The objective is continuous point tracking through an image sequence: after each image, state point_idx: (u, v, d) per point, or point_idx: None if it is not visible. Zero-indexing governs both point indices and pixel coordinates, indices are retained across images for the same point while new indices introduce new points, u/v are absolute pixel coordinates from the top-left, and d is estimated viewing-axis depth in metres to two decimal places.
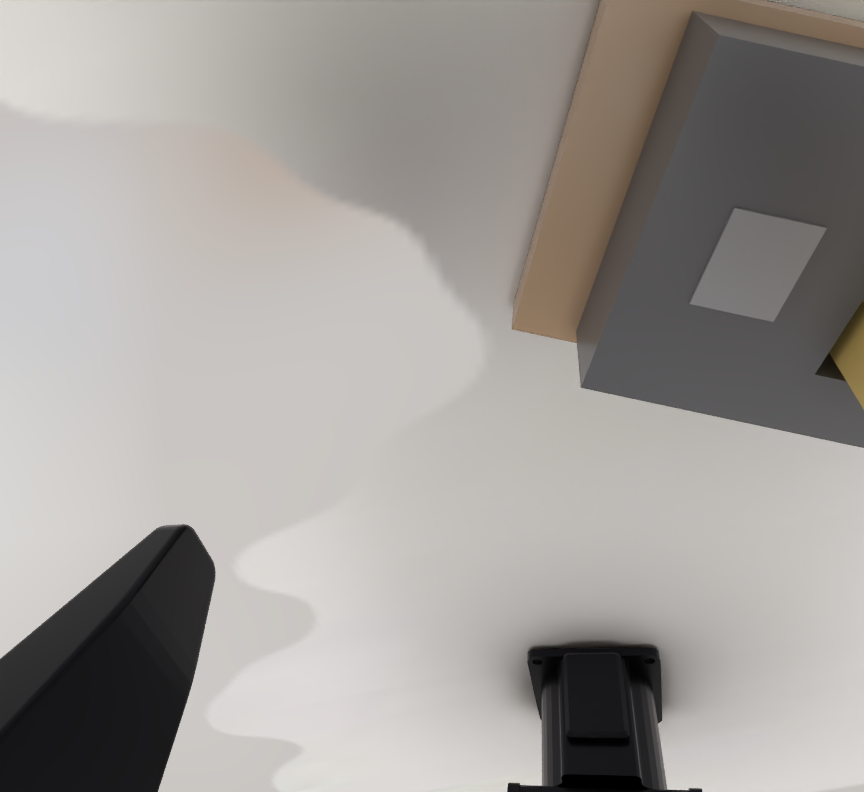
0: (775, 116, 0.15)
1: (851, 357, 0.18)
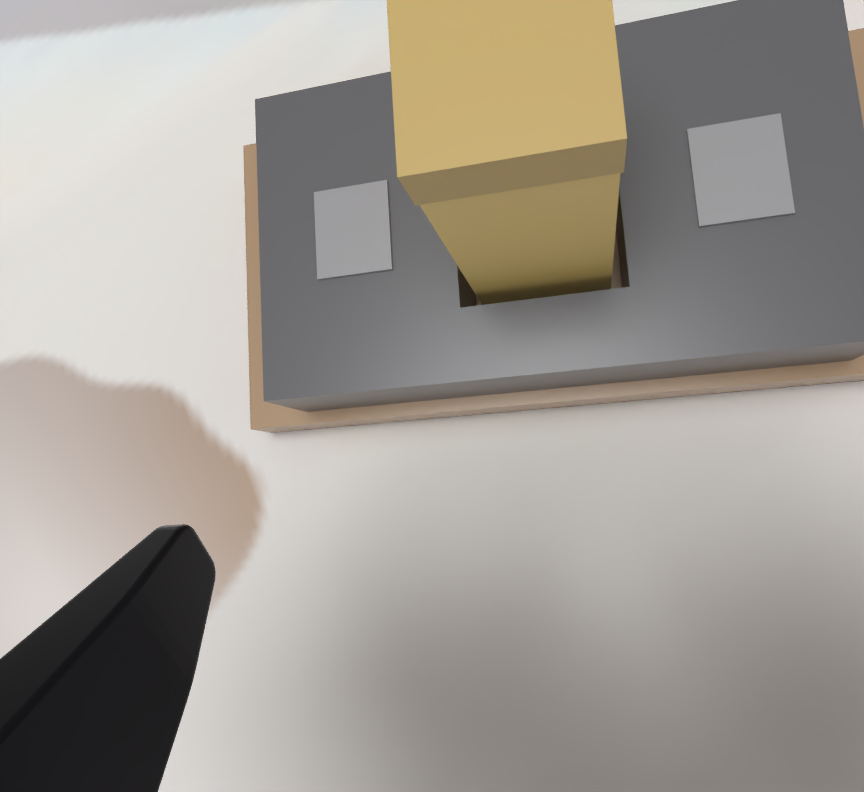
0: (312, 127, 0.20)
1: None
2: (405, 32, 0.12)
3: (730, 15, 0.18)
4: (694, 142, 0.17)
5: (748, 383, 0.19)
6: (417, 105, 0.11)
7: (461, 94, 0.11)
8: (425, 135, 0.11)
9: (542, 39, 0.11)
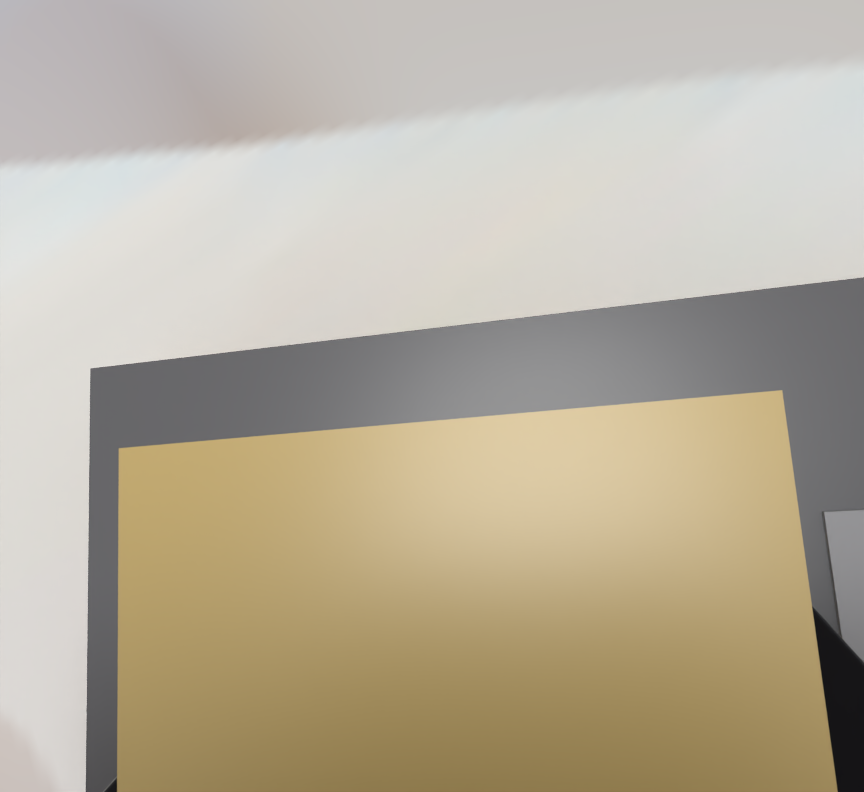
0: (177, 428, 0.12)
1: None
2: None
3: None
4: (837, 536, 0.10)
5: None
6: None
7: None
8: None
9: None
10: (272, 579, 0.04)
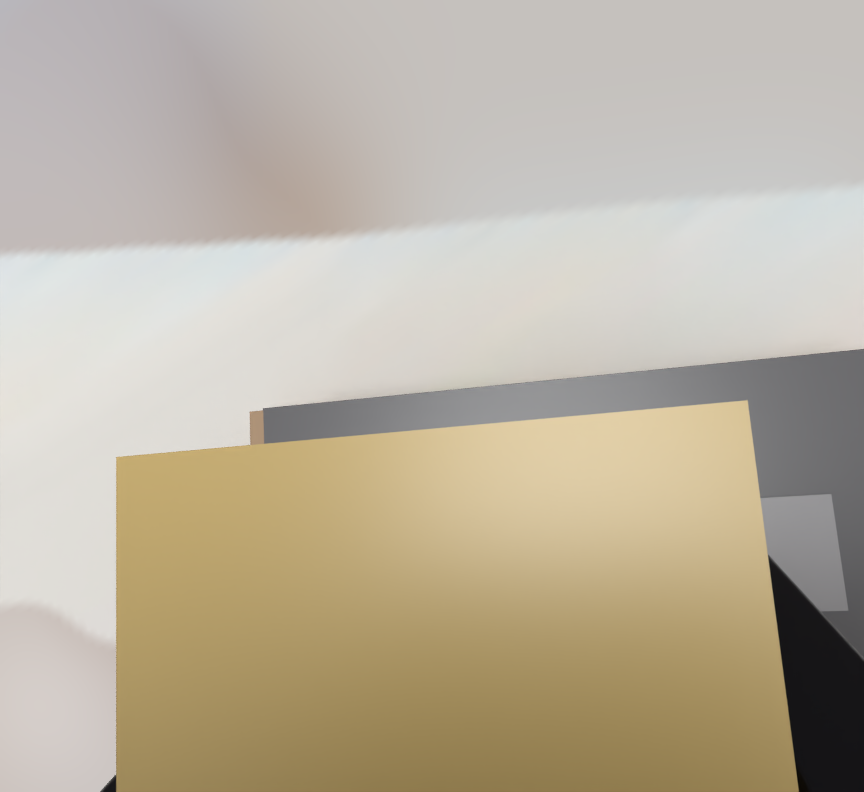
0: None
1: None
2: (159, 784, 0.04)
3: (775, 373, 0.16)
4: None
5: None
6: None
7: None
8: None
9: None
10: (260, 582, 0.04)
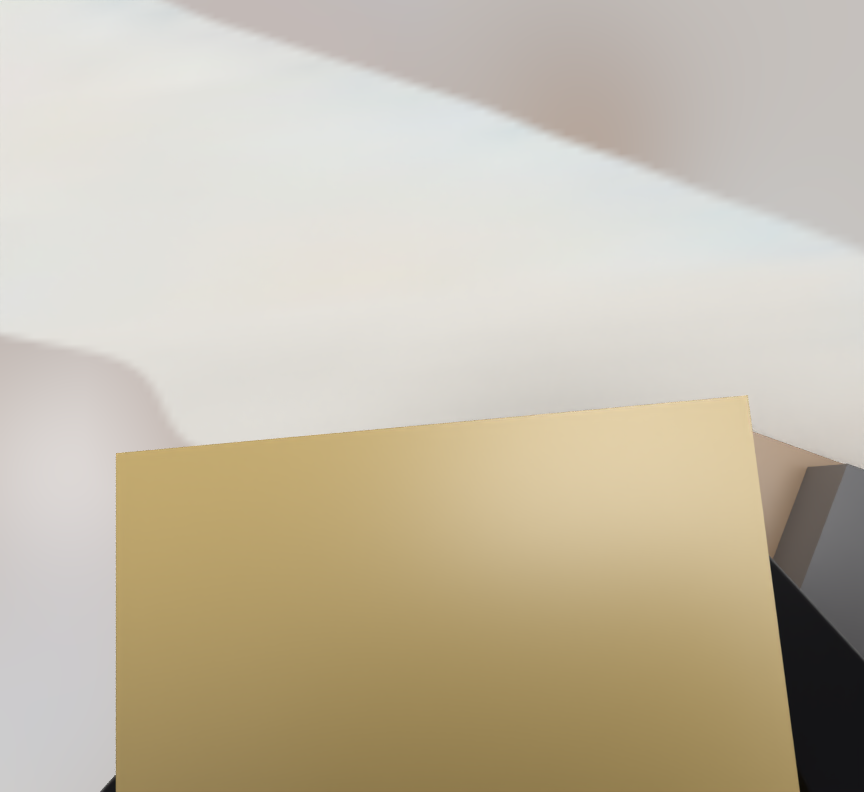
0: None
1: None
2: (159, 780, 0.04)
3: None
4: None
5: None
6: None
7: None
8: None
9: None
10: (259, 578, 0.04)
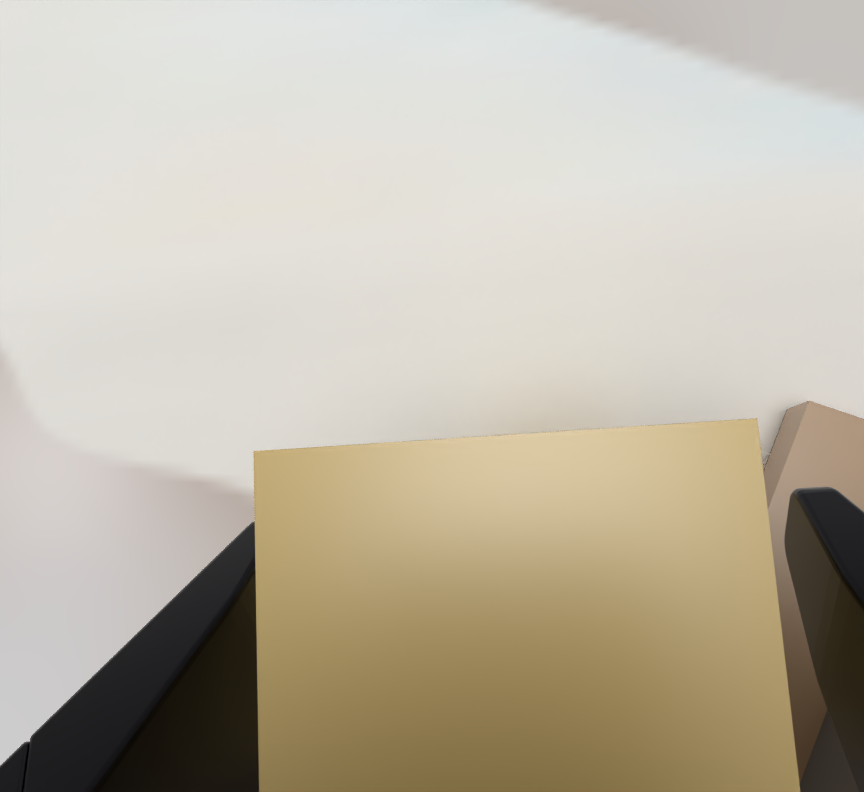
0: None
1: None
2: (295, 709, 0.05)
3: None
4: None
5: None
6: None
7: None
8: None
9: None
10: (378, 551, 0.05)
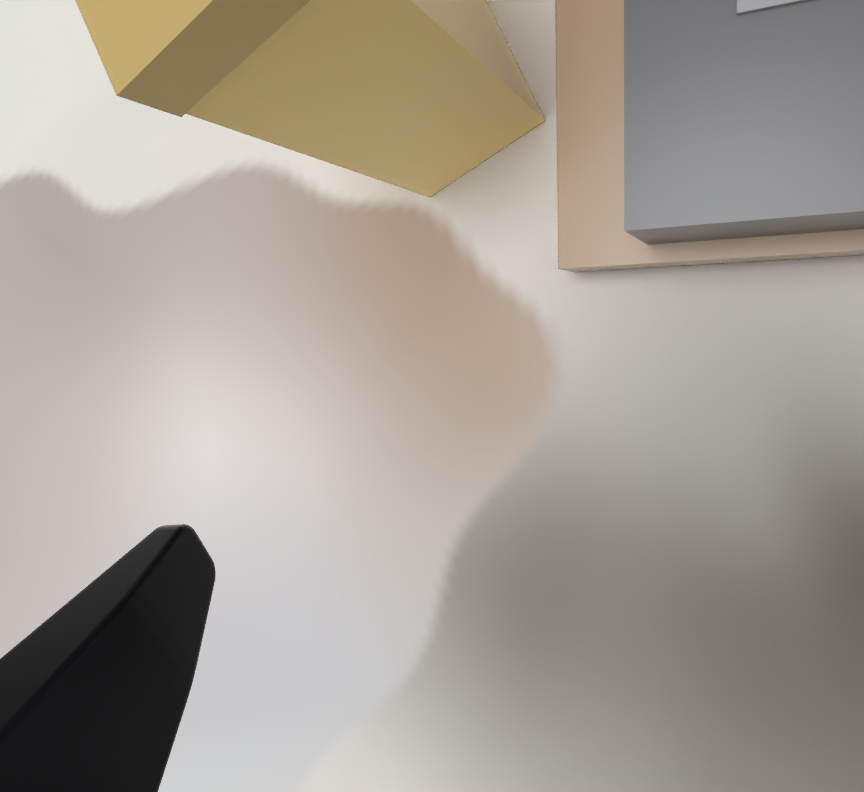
0: None
1: None
2: None
3: None
4: None
5: None
6: (102, 1, 0.10)
7: None
8: (121, 31, 0.09)
9: None
10: None
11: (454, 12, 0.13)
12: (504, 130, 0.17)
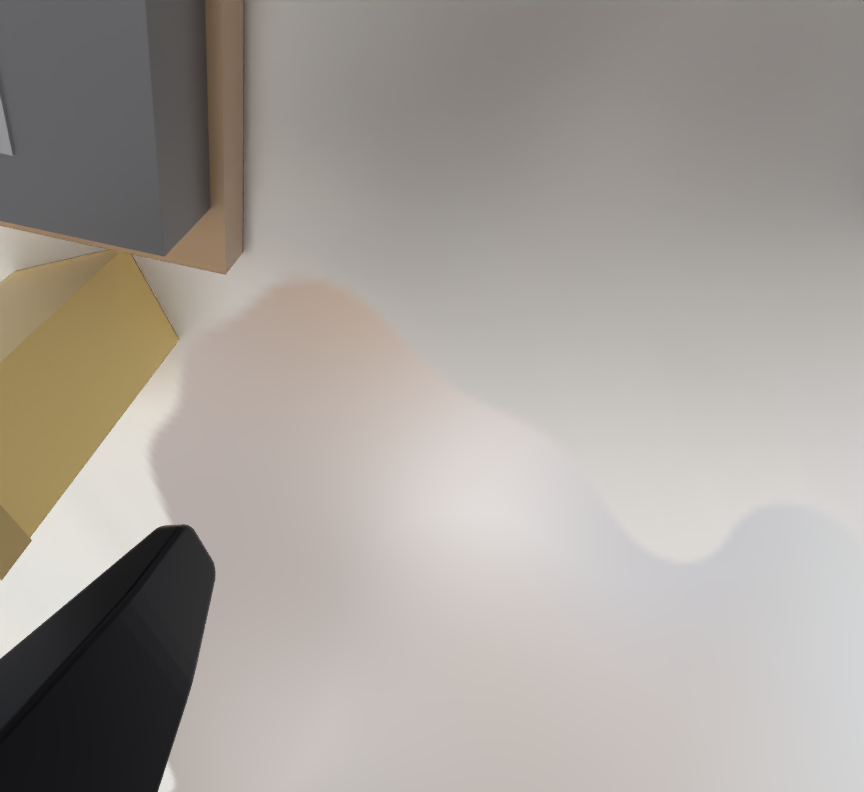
0: None
1: None
2: None
3: None
4: None
5: None
6: None
7: None
8: None
9: None
10: None
11: (12, 328, 0.18)
12: (125, 283, 0.22)
